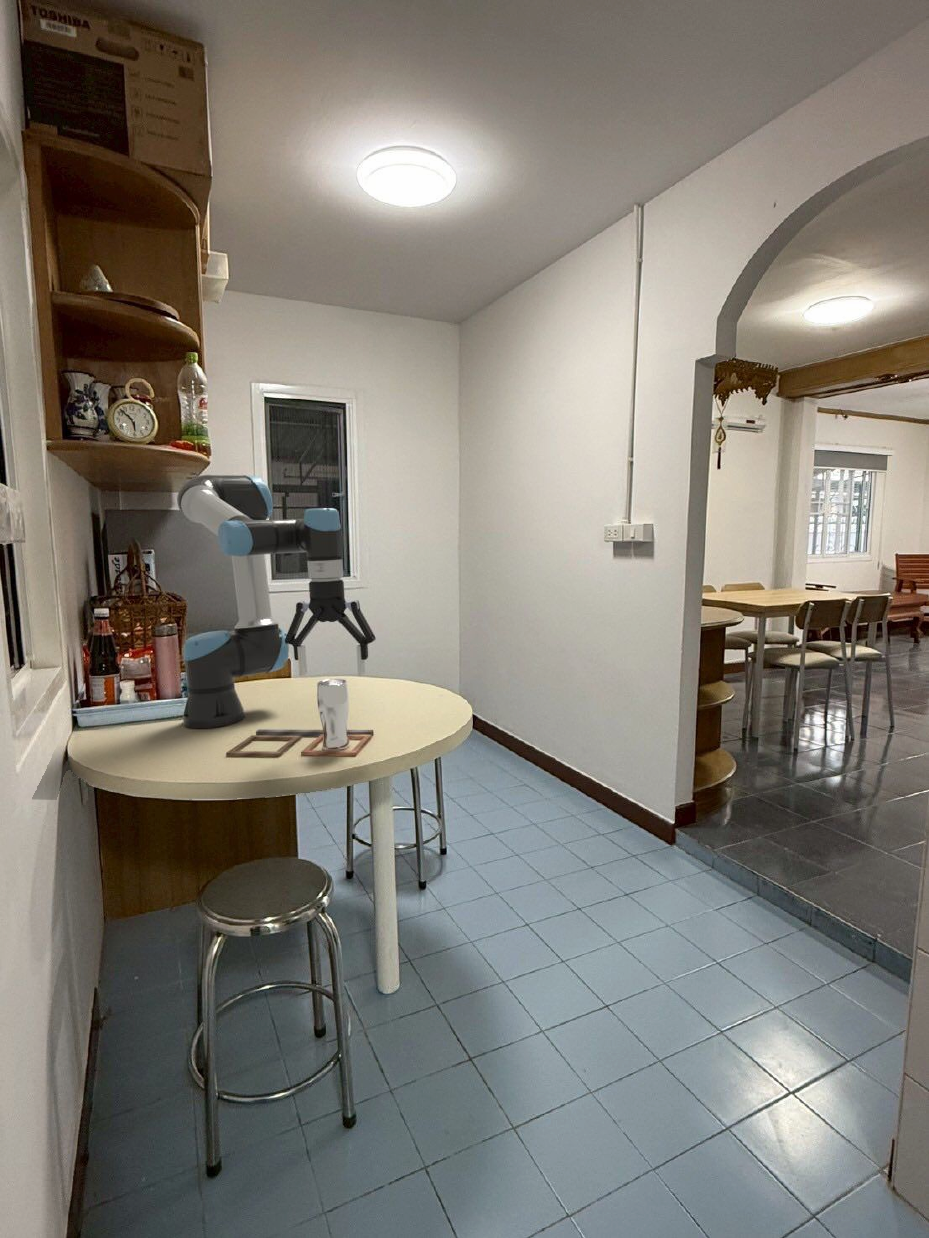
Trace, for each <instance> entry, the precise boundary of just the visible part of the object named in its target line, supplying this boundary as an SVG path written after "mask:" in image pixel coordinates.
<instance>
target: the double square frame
mask: <svg viewBox="0 0 929 1238" xmlns="http://www.w3.org/2000/svg"><path fill="white" fill-rule="evenodd" d="M347 735H348V739H349V740H350V739H360V741H359V742H358V743H357V744H356V745H355V747H353V748H352V750H337V751H331V750H324V749H323V750H322V749H321V750H318V749H315V748H316V747H317V746H319V745H320V744H321V743H322V742H323V729H256V731H255V735H254V734H253V735H250V736H249V737H247V738H245V740H242V741H241V742H240V743H237V745H235V746H234V747H233V748H231V749H229V750H228V751H227V752H226V753H225V755H226V757H234V758H235V757H237V758H238V757H245V758H246V757H248V758H250V757H252V758H257V757H258V758H261V757H262V758H264V757H265V758H280V757H281V756H282V755H284V754H285V753H286V752H287V751H288V750H289V748H290V747H291V746H292V747H293V746H295V745H296V744H297V743H298V742H299V741H300V740H302V737H301V736H319V737H316V738H315V739H314V740H313V741H312V742H310V743H309V744H308V745H307V746H306V747H305V748H304V749H303V750H302V751H300V756H301V755H314V757H320V756H321V757H326V756H327V757H356V756H357V755H358V754H359V753H360V752H361V751H362V750H363V748H364V747H366V745H367V744H368V743H369V742H370V741H371V740H372V738H373V736H374V729H347ZM361 739H362V740H361ZM252 741H253V742H254V741H287V742H286V743H285V744H284V745H282V746H281V747H280V748H279V749H277V750H276V751H265V750H264V751H263V750H262V751H261V750H260V751H257V750H254V751H253V750H250V751H248V750H246V751H245V750H243V749H245V748H246V747H247V746H249V745H250V744H251V743H252ZM297 741H298V742H297ZM321 741H322V742H321ZM368 741H369V742H368ZM296 742H297V743H296ZM320 742H321V743H320ZM295 743H296V744H295ZM319 743H320V744H319ZM318 744H319V745H318ZM245 746H246V747H245ZM315 746H316V747H315ZM292 747H291V748H292ZM314 747H315V748H314ZM291 748H290V749H291ZM241 750H242V751H241ZM284 752H285V753H284ZM283 753H284V754H283Z"/></svg>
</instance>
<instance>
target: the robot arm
mask: <svg viewBox="0 0 929 1238" xmlns="http://www.w3.org/2000/svg"><path fill="white" fill-rule="evenodd" d="M176 498H177V499H176V501H177V503H176V504H177V506H178V509H179V512H181V513H182V515H183V516H184V517H186V518H187V520H189V521H191V522H193V523H196V524H202V525H203V526H204V527H205V528H207V529H208V530H209V531H211V532H212V533H213V534H215V536H217V540H218V541H217V542H218V546H219V548H220V551H221V552H222V553H223V554H224V555H225V556H227V557H228V556H229V557H231V562H232V569H233V571H232V572H233V578H234V586H235V597H236V605H237V610H238V613H237V614H238V622H237V624H235V626H234V634H231V633H230V631H229V630H226V629H225V630H224V629H223V630H221V629H219V630H215V631H207V632H203V633H199V634H197V635H193V636H191V637H189V638H188V639H186V641H184V644H183V660H184V668H185V677H186V678H185V679H186V687H187V700H186V702H185V707H184V711H183V715H182V720H183V721H182V722H183V726H185V728H189V729H211V728H219V727H224V726H229V725H232V724H236V723H238V722H240V721H242V720H243V719H244V718H245V712H244V706H243V704H242V703H241V700H240V697H239V695H238V694H237V691H236V687H235V678H236V679H238V678H242V677H243V678H244V677H248V676H254V675H259V674H270V673H273V672H275V671H280V670H281V669H282V668H284V667H285V665H286V663H287V662H288V658H289V653H290V645H291V646H292V647H293V656H294V657H293V658H294V660H295V661H297V662H298V673H299V674H298V675H299V676H305V675H306V674H308V667H307V666H308V665H307V650H306V644H303V642H304V641H305V640H306V638H307V636H308V635H310V633H311V631H312V630H313V629H314V627H315V626H316V625H317V623H318V622H320V623H326V622H329V623H335V622H338V623H339V624H341V625H342V627H344V629H345V630H347V632H348V633H349V634H350V635H351V636H352V637H353V639H355V641H356V642H357V643H358V645H356V662H357V675H358V676H362V675H364V674H365V673H366V666H365V661H366V660H367V659H368V658H369V648H368V647H369V644H371V643H373V642H374V641H376V639H377V638H376V636H375V634H374V632H373V630H372V628H371V626H370V625H369V623H368V621H367V619H366V618H365V616H364V614H363V612H362V610H361V605H360V602H359V600H358V599H356V600H353V601H346V599H345V583H344V580H343V579H342V578H343V577H344V567H343V556H342V555H343V553H342V551H343V550H342V532H341V530H342V529H341V528H342V527H341V523H340V522H341V521H340V514H339V510H337V509H336V508H332V507H331V508H329V507H328V508H327V507H325V508H324V507H322V508H321V507H319V508H308V509H305V511H304V512H303V518H293V519H289V518H287V519H269V518H270V517H271V516H272V514H273V508H274V507H273V498H272V494H271V491H270V488H269V486H268V485H267V483H266V481H264V480H263V479H262V478H261V477H259V476H251V475H246V474H244V475H234V474H233V475H223V474H222V475H218V474H217V475H214V474H213V475H212V474H205V475H204V474H203V475H202V474H201V475H198V476H196V477H193V478H191V479H189V480H187V481H186V482H185V483H183V485H182V486H181V487H180V489H179V491H178V493H177V497H176ZM293 553H298V554H299V553H306V559H307V561H306V563H307V574H308V575H307V577H308V579H310V581H309V582H308V589H309V590H308V592H309V593H308V594H309V602H305V601H299V602H297V603H295V614H294V616H293V619H292V622H291V624H290V626H289V628H288V631H287V632H286V630H284V629H283V628H281V627H279V622H278V621H277V620H276V619H274V618H273V616H272V615H273V614H272V610H271V609H272V608H271V600H270V591H269V582H268V581H269V580H268V574H267V573H268V572H267V565H266V557H265V555H273V554H274V555H276V554H293ZM347 609H348V610H349V611H350V612H351V613H352V615H353V617H354V619H355V621H356V623H357V625H358V626H359V628H360V630H361V631H360V630H359V628H357V626H356V625H355V624H354V623H353V622H352V621H351V620H350V617H349V616H348V615H347V614H346V613H345V611H346V610H347ZM308 610H309V611H310V612H311V614H312V615H311V616H310V618H309V619H308V621H307V622H306V624H305V625H304V627H302V630H301V631H300V632H299V634H298V635H297V633H298V631H299V628H300V626H301V623H302V621H303V619H304V615H305V614H306V612H307V611H308Z"/></svg>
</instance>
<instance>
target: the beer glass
mask: <svg viewBox="0 0 929 1238" xmlns="http://www.w3.org/2000/svg"><path fill="white" fill-rule="evenodd" d="M316 692H317V693H316V700H317V701H316V703H317V709H318V714H319V718H320V722H321V727H322V730H323V741H322V749H323V750H331V751H343V750H345V748H346V749H347V747H348V746H349V747H350V745H351V744H350V739H348V735H347V730H348V720H349V711H350V710H349V708H350V698H349V697H350V696H349V689H348V683H347V680H346V679H343V678H329V679H328V678H327V679H323V680H320V681H318V682H317V683H316ZM349 747H348V748H349ZM342 749H343V750H342Z"/></svg>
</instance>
